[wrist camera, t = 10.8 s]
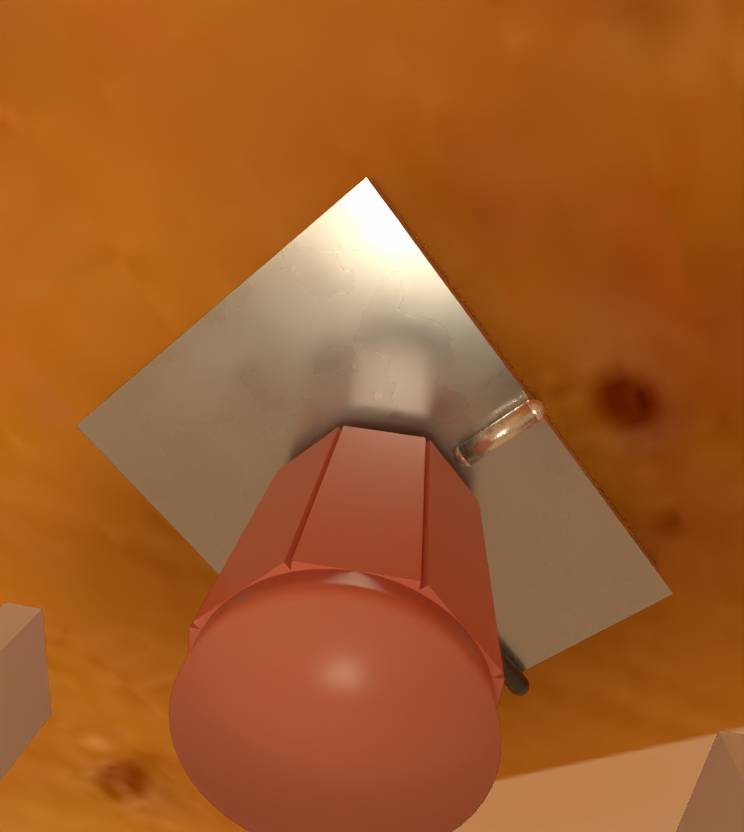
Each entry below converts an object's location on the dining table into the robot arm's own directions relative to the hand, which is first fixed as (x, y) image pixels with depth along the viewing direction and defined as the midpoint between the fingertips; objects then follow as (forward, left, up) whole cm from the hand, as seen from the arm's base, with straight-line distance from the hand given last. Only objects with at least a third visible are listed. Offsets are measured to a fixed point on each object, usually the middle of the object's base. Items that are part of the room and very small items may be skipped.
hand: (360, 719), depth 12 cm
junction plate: (0, 0, -10) cm, 10 cm away
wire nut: (0, 0, -7) cm, 7 cm away
